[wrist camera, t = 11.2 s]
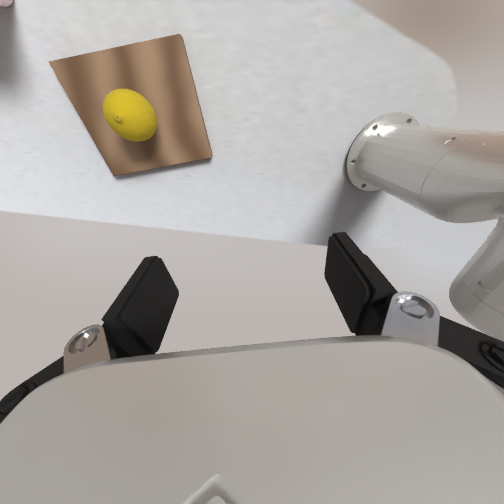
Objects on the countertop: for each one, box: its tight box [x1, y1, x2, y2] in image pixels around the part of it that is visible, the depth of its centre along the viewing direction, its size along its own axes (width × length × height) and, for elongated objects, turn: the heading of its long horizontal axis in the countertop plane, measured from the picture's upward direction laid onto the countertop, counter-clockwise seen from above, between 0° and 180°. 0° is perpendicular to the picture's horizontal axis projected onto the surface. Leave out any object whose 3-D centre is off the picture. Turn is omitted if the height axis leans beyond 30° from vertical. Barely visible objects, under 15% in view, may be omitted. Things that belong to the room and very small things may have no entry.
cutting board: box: [49, 34, 213, 176], centre depth 28 cm, size 17×14×2 cm
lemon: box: [103, 89, 157, 142], centre depth 25 cm, size 6×6×8 cm
